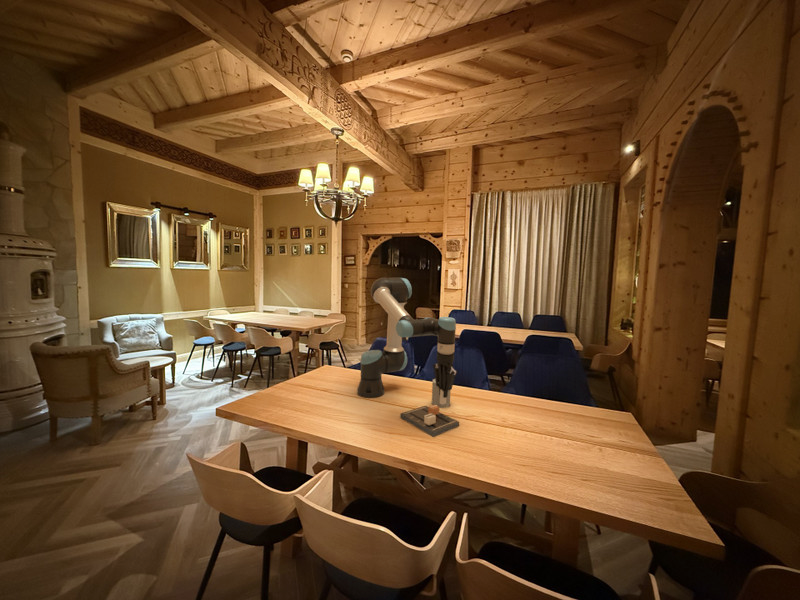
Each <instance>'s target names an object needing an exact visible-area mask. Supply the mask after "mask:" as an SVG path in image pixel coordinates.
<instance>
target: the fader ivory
mask: <svg viewBox="0 0 800 600" xmlns="http://www.w3.org/2000/svg"><path fill="white" fill-rule="evenodd" d="M424 423H426V424H427V425H431V424H434V423H436V416H435V415H434V414H428V415H425V416H424Z"/></svg>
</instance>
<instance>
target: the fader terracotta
mask: <svg viewBox="0 0 800 600" xmlns="http://www.w3.org/2000/svg"><path fill="white" fill-rule="evenodd" d="M439 412H440V408H439V407H438V406H437V405H432V404H431V405H429V406H428V414H434V415H436V414H439Z"/></svg>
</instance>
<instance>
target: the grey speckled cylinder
mask: <svg viewBox="0 0 800 600" xmlns="http://www.w3.org/2000/svg"><path fill="white" fill-rule="evenodd" d="M431 387H432V389H431V391H432V392H431V406H432V405H437V406H438V407H439V409H446V408H449V407H450V406H451V390H452V389H451V390H448V396H447V397H446V404H443V405H442V404H440V395H439V387H438V386H436V380H435V378H434V379H433V378H432V386H431Z"/></svg>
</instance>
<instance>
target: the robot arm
mask: <svg viewBox="0 0 800 600" xmlns="http://www.w3.org/2000/svg"><path fill="white" fill-rule="evenodd" d="M412 290H413V288H412V285H411V283H410V281H409V280H408V279H407V278H404V277H380V278H377V279H376V280H375V281H373V283H372V285H371V286H370V295H371V298H372V299H373V300H374V302H375V303H377V304H380V306H381V307H382V309H384V311H385V312H386V313H387V331H386V332H387V333H386V345H385V346H384V347H383V351H382V350H380V349H371V350H367V351H364V352H362V354H361V356H360V379H359V380H360V381H359V383H358V385H357V389H356V393H357V395H358V396H360V397H362V398H366V399H367V398H368V399H371V398H378V397H382V396H383V395H384V394H385V387H384V383H383V380H382V374H386V373H394V372H396V373H397V372H400V371H403V370H405V368H406V366H407V365H408V356H407V355H408V354H407V352H406V351H405V349H404V347H403V346H402V344H403V343H402V341H403V338H412V337H413V338H414V337H425V336H434V337H437V349H436V351H437V352H436V360H437V362H436V363H434V364H433V365H432V368H433V370H434V371H433V372H434V379H435V380H436V386H438V387H439V395H440V404H442V405H443V404H446V397H447V396H448V390H452V389H453V385H454V382H455V378H456V375H457V373H458V371H457V370H455V368H454V365H453V363H454V362H455V346H456V345H455V344H456V330H457V325H456V324H457V322H456V318H454V317H451V316H450V317H449V316H440V317H439V318H438V319H437V318H434V317H424V318H422V319H420V318H419V319H414V318H413V317H412V316H411V315H410V314H409V313H408V311H407V310H405V305H406V304H408V299H410V298H411V296H412V294H413V291H412Z"/></svg>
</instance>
